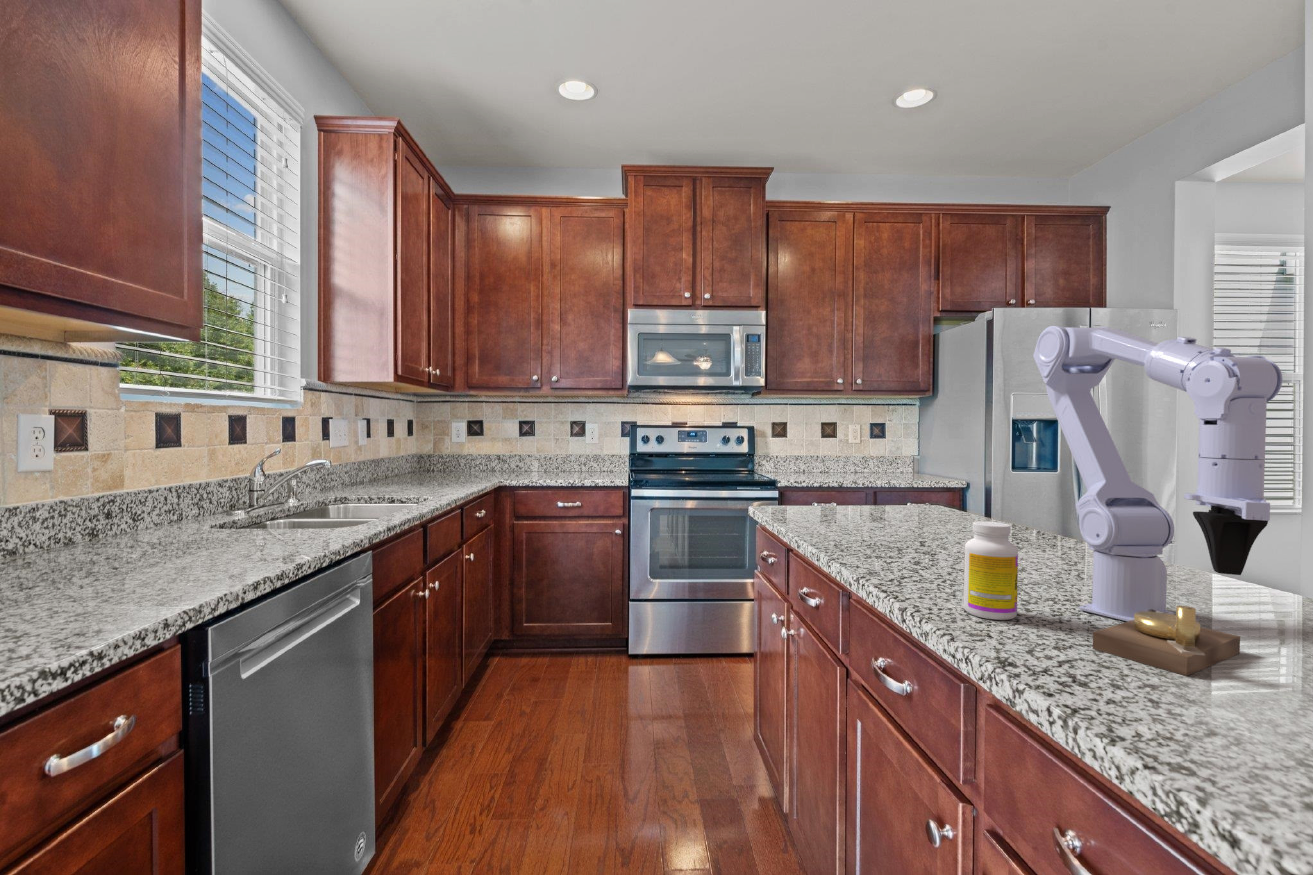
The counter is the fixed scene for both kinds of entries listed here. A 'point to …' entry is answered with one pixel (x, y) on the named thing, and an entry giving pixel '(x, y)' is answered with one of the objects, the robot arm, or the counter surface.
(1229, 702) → the counter surface
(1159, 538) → the robot arm
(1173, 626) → the gold door handle
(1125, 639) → the stand
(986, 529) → the supplement bottle
